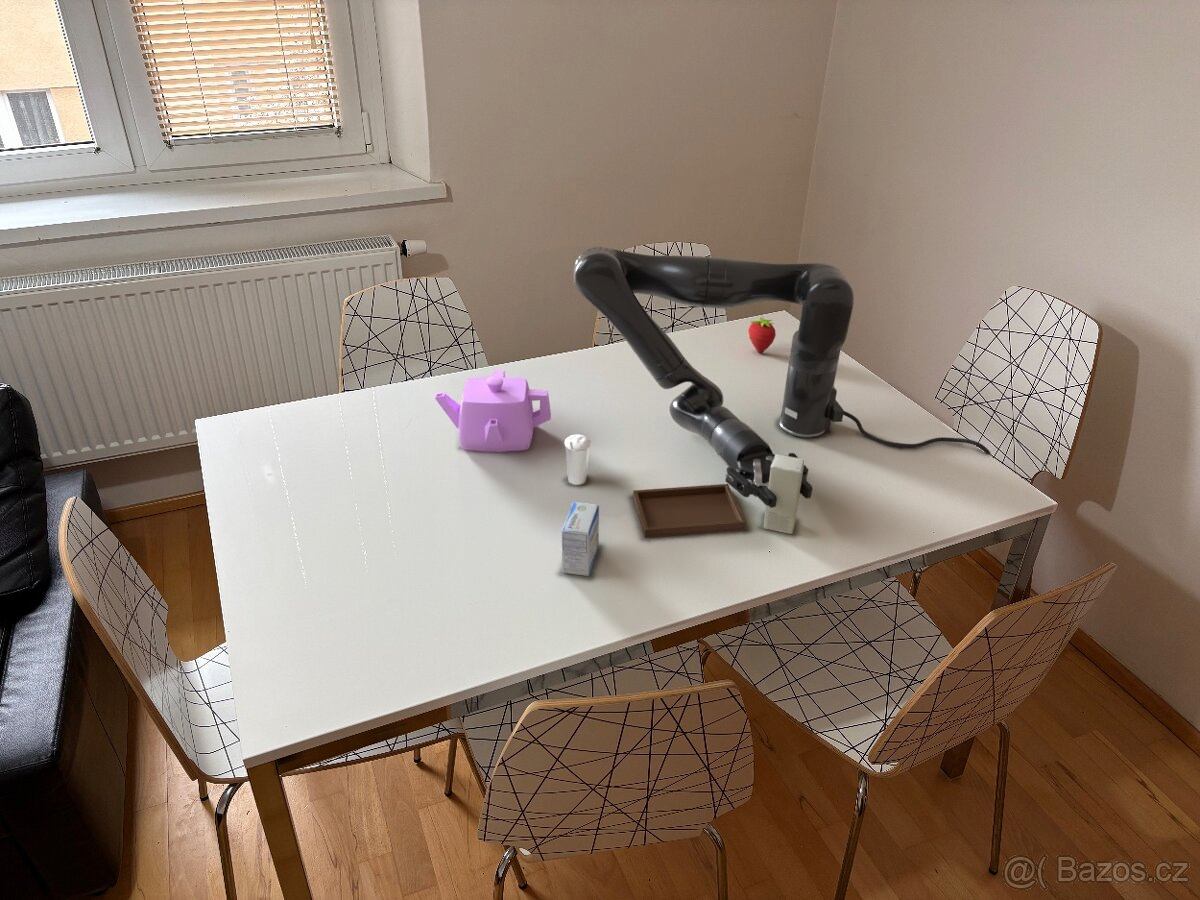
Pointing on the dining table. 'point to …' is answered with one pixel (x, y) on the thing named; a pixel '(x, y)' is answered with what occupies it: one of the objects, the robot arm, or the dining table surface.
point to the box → (784, 493)
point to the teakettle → (496, 413)
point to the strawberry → (761, 334)
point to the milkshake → (577, 458)
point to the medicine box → (580, 538)
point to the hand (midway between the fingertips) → (792, 498)
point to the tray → (687, 510)
